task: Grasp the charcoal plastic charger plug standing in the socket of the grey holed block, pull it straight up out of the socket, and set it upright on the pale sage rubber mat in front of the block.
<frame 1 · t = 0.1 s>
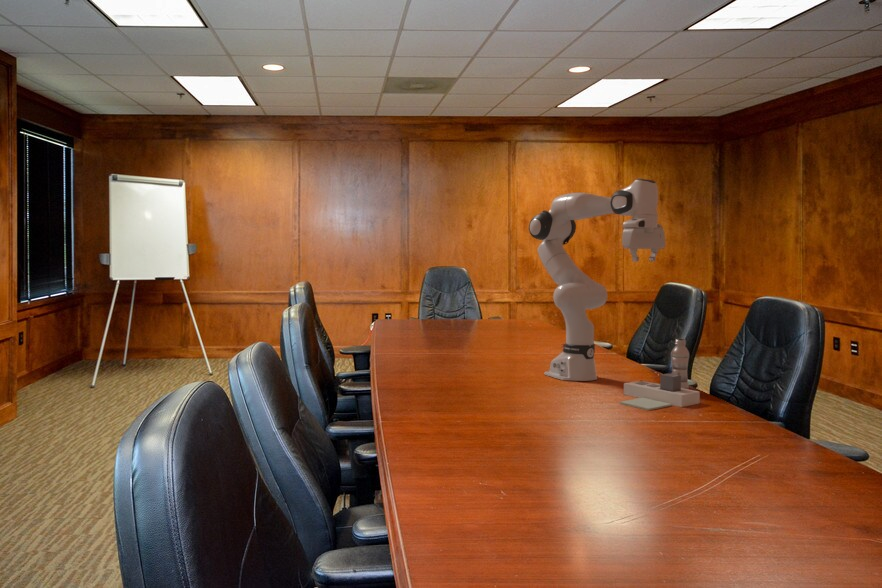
hand: (643, 261, 242), 48 cm above the table, fingers open, 8 cm apart
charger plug: (670, 400, 228), resting in grey holed block
grey holed block: (660, 398, 232), on the table
mat: (645, 404, 222), on the table
plastic bottle: (678, 394, 239), on the table
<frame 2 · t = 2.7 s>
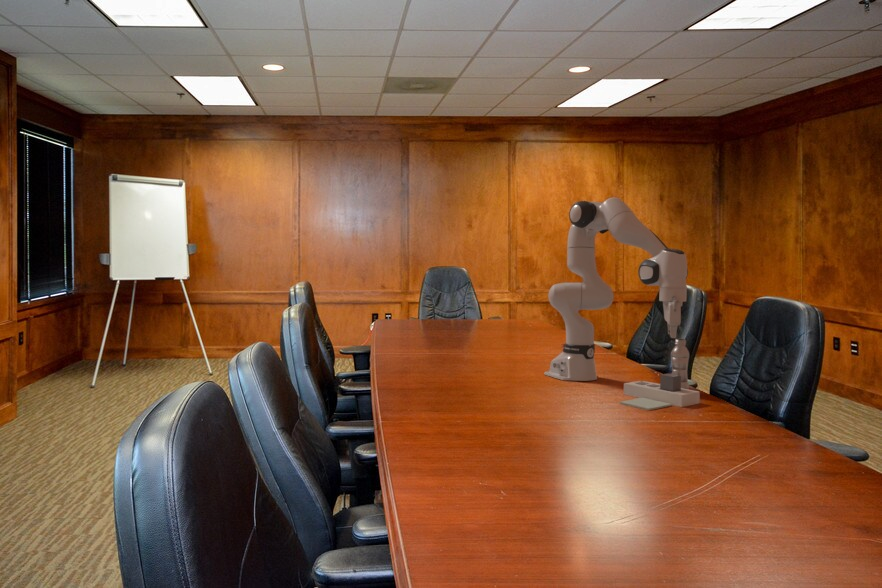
hand: (671, 336, 227), 22 cm above the table, fingers open, 8 cm apart
nothing on the table moved.
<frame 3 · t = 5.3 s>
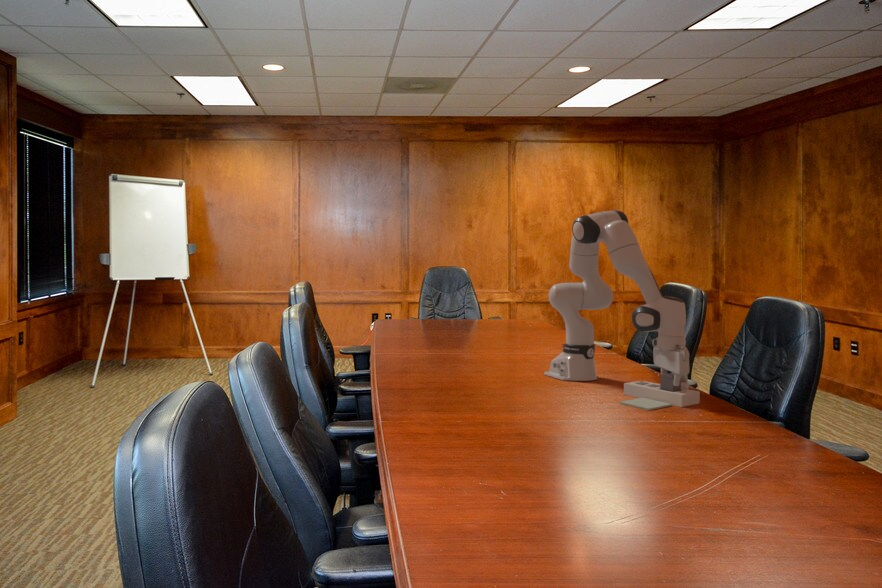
hand: (670, 383, 228), 6 cm above the table, fingers closed on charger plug, 7 cm apart
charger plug: (670, 400, 228), resting in grey holed block, touching gripper
everything else where it was.
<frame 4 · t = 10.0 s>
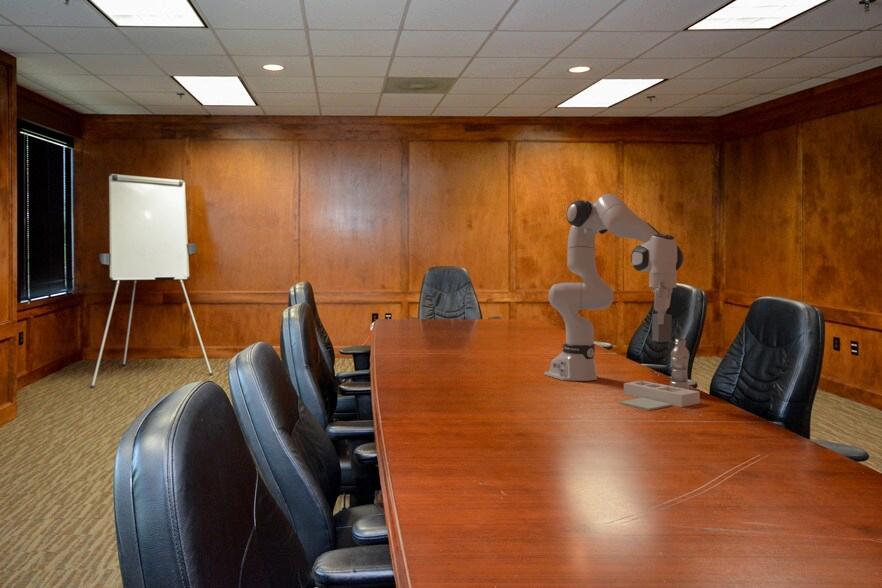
hand: (661, 323, 224), 27 cm above the table, fingers closed on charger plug, 6 cm apart
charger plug: (661, 341, 225), point 21 cm above the table, touching gripper
everything else where it was.
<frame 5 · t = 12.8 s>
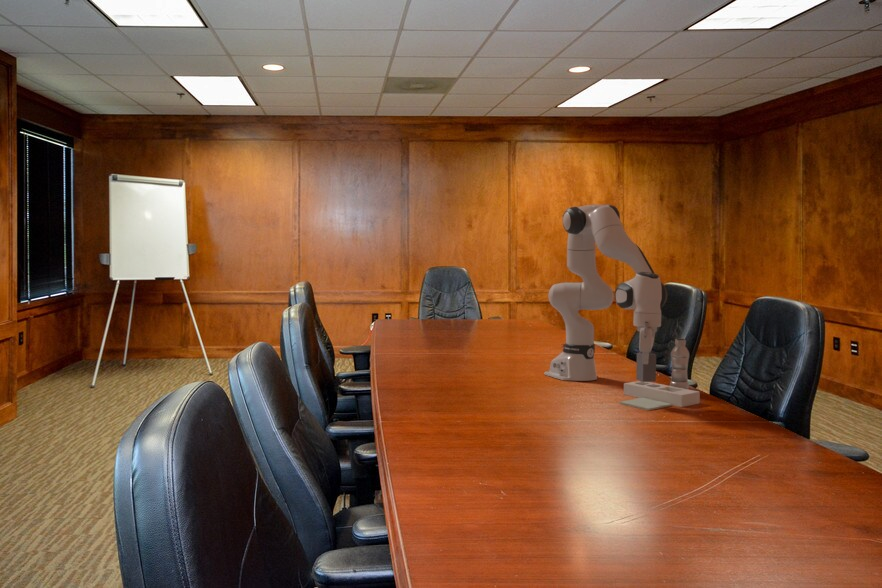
hand: (646, 362, 221), 14 cm above the table, fingers closed on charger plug, 6 cm apart
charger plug: (645, 380, 222), point 8 cm above the table, touching gripper
everything else where it was.
when the fingers open (8 cm above the table, at t = 15.1 s): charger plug drops 1 cm, resting on mat.
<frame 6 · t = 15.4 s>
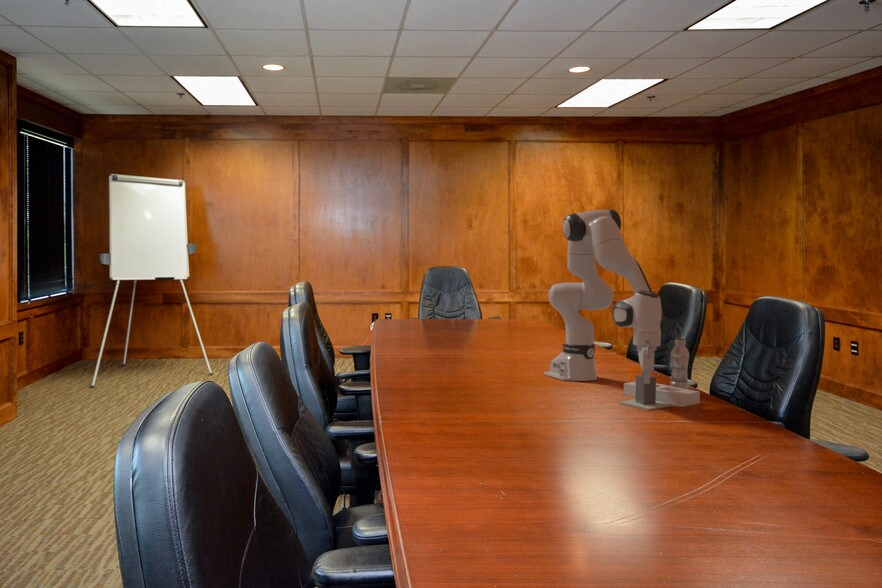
hand: (645, 380, 222), 8 cm above the table, fingers open, 8 cm apart
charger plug: (645, 402, 222), point 1 cm above the table, touching mat
everything else where it was.
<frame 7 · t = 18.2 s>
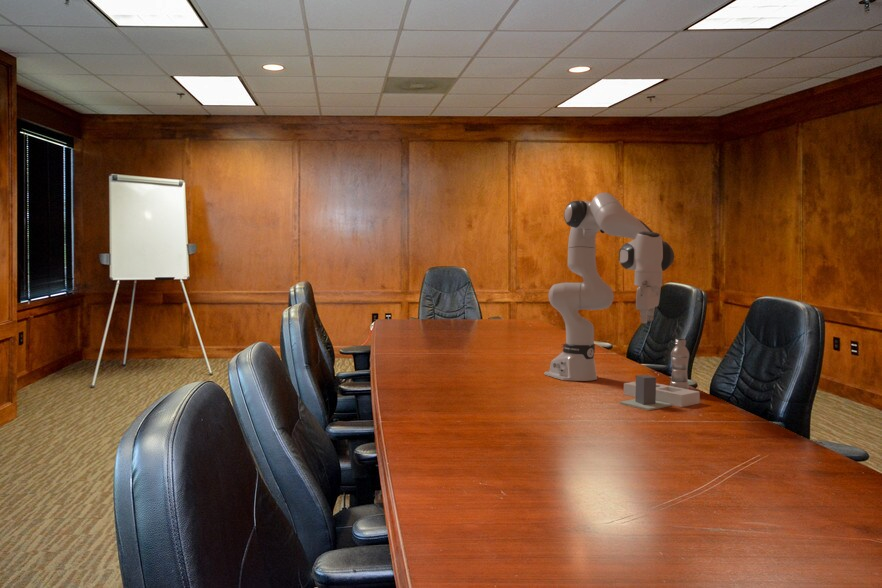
hand: (647, 321, 221), 28 cm above the table, fingers open, 8 cm apart
nothing on the table moved.
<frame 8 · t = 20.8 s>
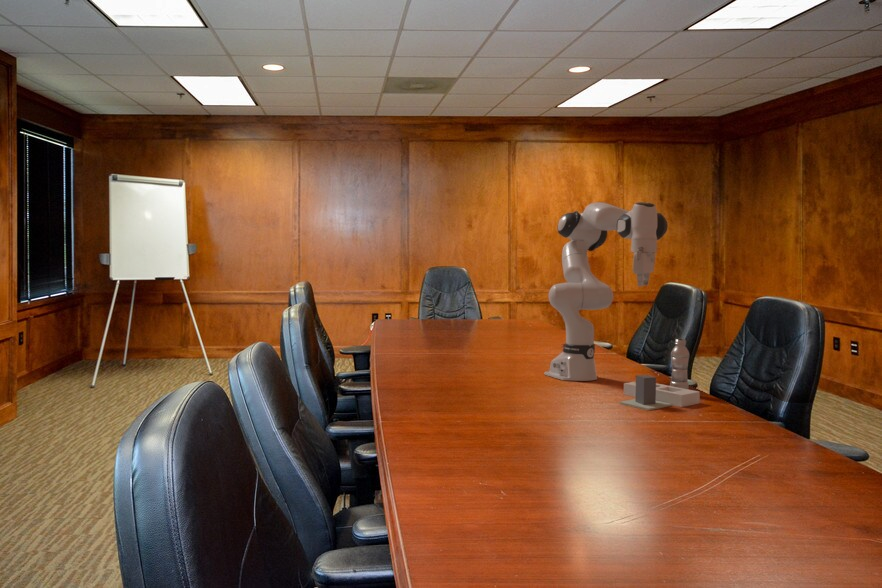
hand: (643, 285, 239), 39 cm above the table, fingers open, 8 cm apart
nothing on the table moved.
at the end: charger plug inside the target area (0.1 cm from its centre), point 0.6 cm above the table; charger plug tilted 0°; the gripper is holding nothing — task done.
